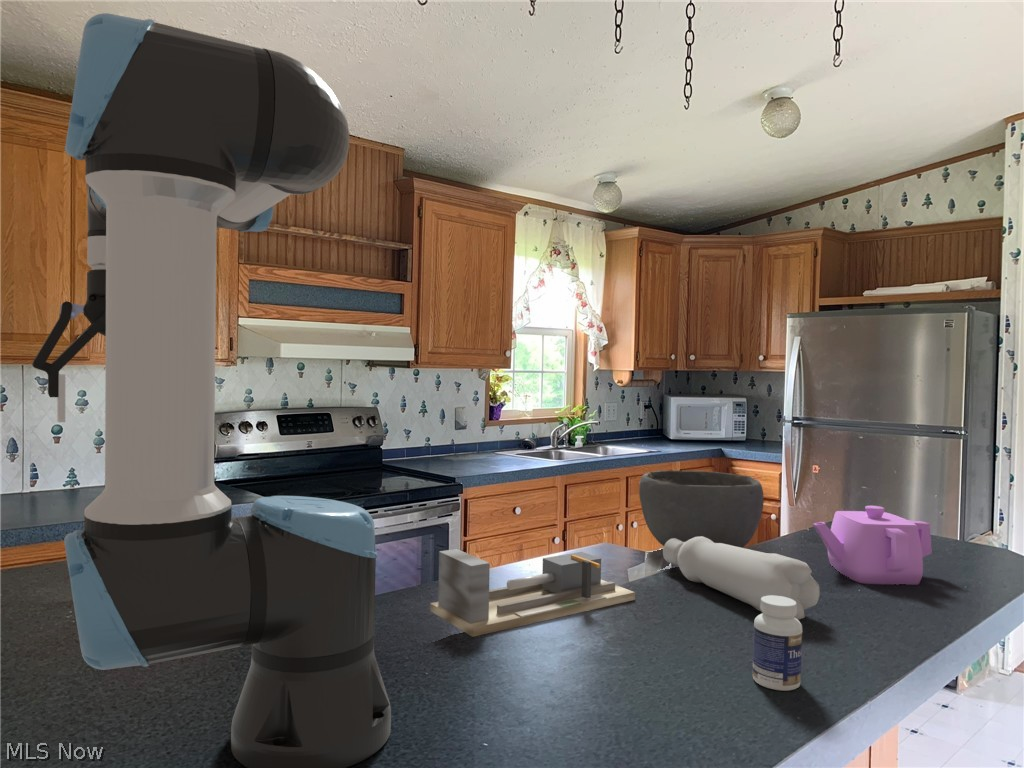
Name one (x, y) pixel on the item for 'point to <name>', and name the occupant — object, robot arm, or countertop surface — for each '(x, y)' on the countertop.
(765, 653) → the pill bottle
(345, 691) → the robot arm
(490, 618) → the bench vise
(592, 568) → the sliding vise jaw
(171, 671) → the countertop surface
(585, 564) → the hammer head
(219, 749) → the countertop surface
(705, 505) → the bowl
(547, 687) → the countertop surface
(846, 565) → the teakettle
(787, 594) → the bottle
